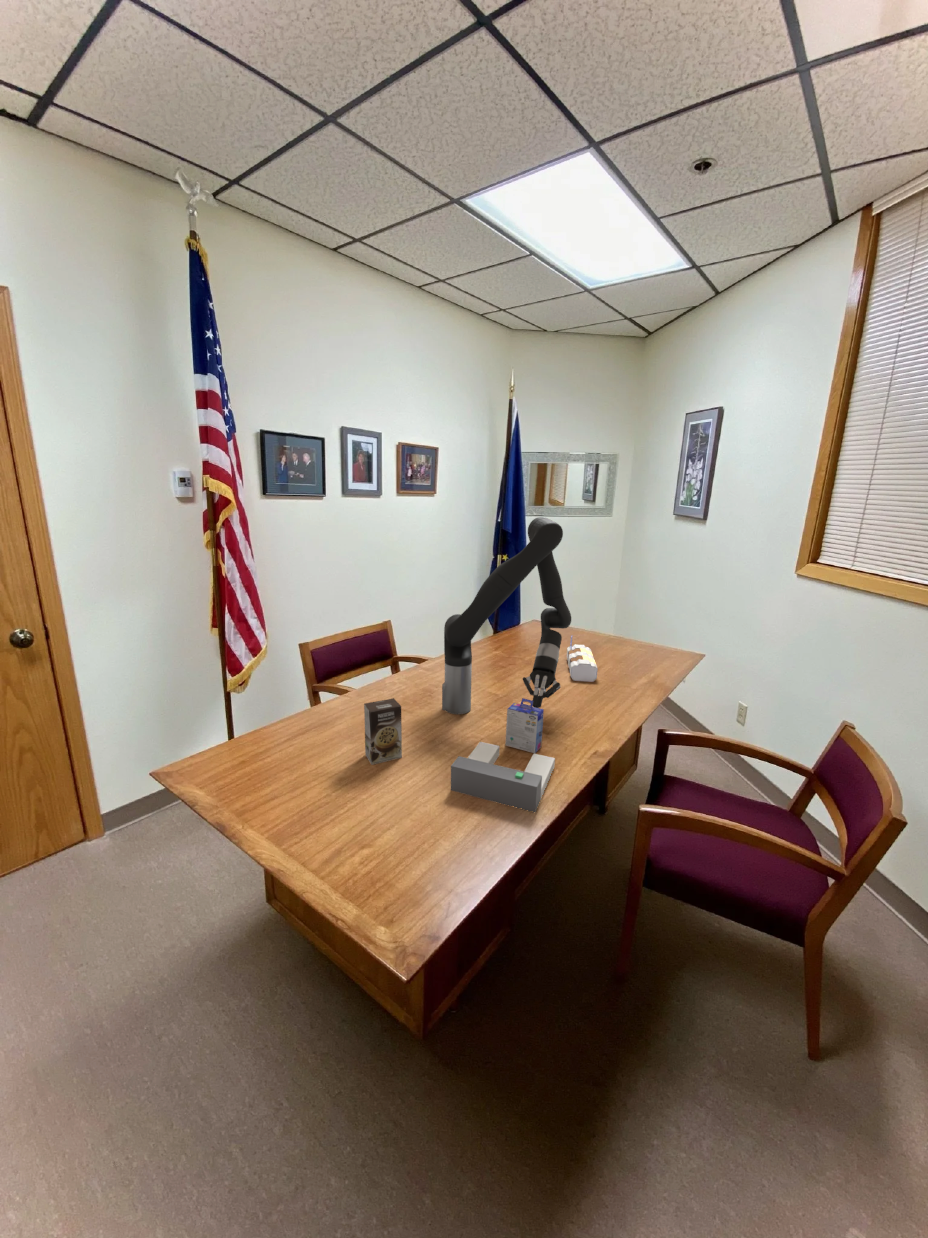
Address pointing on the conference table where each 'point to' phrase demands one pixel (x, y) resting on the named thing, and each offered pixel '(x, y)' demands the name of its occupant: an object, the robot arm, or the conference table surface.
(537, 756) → the charging dock
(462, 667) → the robot arm
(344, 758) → the conference table surface
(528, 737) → the ink cartridge box
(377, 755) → the dessert mix box
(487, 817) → the conference table surface
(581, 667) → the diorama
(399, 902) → the conference table surface
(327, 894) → the conference table surface
